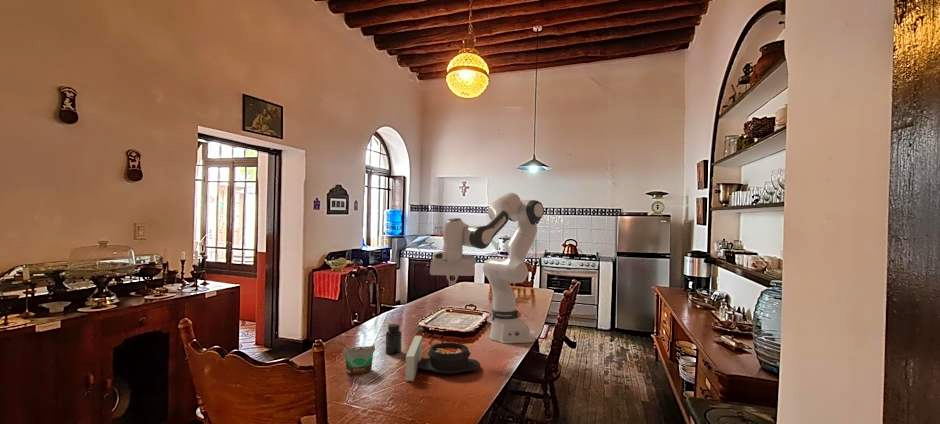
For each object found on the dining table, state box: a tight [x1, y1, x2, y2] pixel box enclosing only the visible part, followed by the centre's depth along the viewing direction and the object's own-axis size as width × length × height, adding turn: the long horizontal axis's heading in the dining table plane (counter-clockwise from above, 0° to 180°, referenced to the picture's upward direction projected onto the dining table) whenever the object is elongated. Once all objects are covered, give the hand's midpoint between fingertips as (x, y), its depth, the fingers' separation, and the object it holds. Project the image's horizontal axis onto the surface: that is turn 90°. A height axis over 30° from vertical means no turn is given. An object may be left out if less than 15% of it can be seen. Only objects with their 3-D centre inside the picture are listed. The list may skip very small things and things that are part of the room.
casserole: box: [418, 342, 481, 375], centre depth 174 cm, size 25×19×8 cm
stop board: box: [404, 335, 423, 382], centre depth 175 cm, size 3×26×9 cm, turn 0°
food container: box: [342, 343, 376, 377], centre depth 168 cm, size 12×6×10 cm, turn 117°
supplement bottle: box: [385, 323, 403, 356], centre depth 193 cm, size 7×7×12 cm
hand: (452, 285), depth 197 cm, fingers closed
